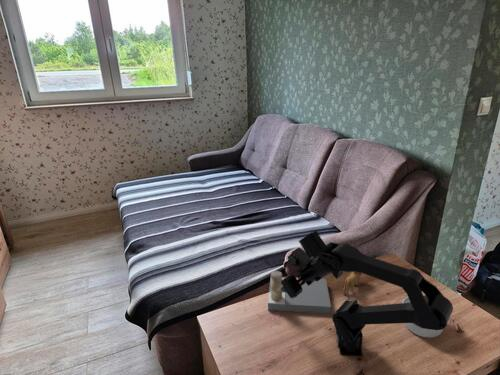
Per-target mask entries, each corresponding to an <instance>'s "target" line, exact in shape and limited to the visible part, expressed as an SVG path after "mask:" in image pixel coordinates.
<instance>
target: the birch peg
mask: <svg viewBox="0 0 500 375" xmlns="http://www.w3.org/2000/svg"><path fill="white" fill-rule="evenodd" d="M270 277H271V299H272V300H273V301H280V300H281V299H282V290H281V288H282V284H281V281H282V277H283V273H282V272H281V271H280V270H274V271H272V272H270Z"/></svg>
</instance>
